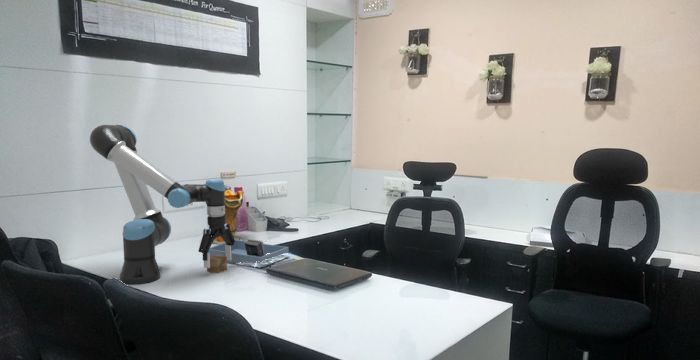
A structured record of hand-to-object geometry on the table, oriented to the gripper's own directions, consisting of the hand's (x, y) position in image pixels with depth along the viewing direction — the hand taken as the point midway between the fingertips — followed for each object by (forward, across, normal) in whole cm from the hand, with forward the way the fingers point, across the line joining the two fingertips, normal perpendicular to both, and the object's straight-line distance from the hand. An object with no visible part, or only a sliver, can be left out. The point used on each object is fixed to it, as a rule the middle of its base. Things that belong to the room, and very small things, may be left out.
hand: (218, 263), depth 210 cm
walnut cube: (+3, 0, 0) cm, 3 cm away
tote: (+3, +22, +2) cm, 22 cm away
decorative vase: (+3, +46, +36) cm, 58 cm away
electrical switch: (+3, +22, -3) cm, 22 cm away
